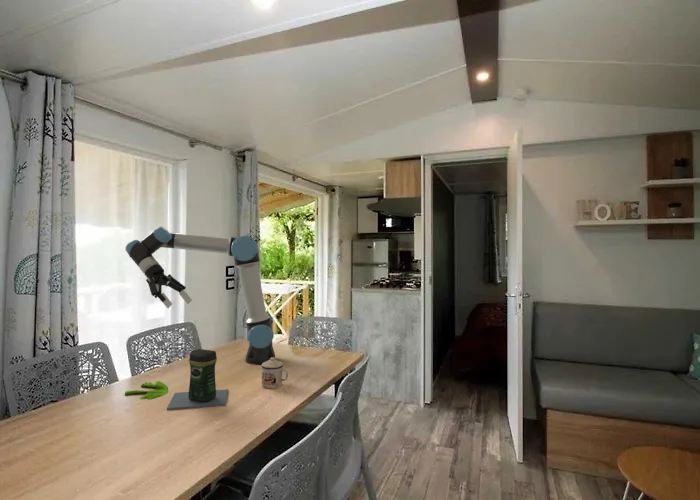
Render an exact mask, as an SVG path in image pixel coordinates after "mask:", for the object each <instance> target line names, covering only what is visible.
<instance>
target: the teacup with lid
mask: <svg viewBox="0 0 700 500" xmlns="http://www.w3.org/2000/svg"><path fill="white" fill-rule="evenodd" d="M283 367H284V364H283V362H282V361H279V360H277V359H276V357H275V358H270V360H268V361H267V362H264V363H263V364H261V387H262V388H265V389H269V388H272V389H277V387H278V388H281V387H282V385H283V382H285V381H287V380H288V378H289V372H288V370H287V369H284V368H283ZM283 373H285V378H283Z"/></svg>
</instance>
